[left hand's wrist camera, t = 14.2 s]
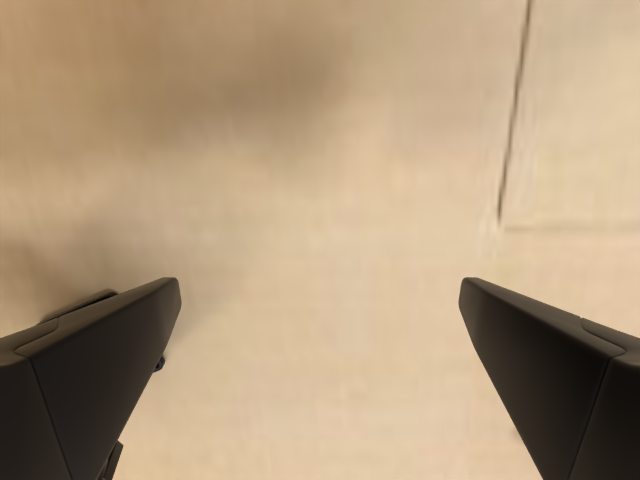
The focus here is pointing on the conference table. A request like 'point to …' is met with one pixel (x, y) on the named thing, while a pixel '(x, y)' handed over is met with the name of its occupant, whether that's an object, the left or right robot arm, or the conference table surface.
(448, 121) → the conference table surface
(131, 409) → the left robot arm
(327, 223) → the conference table surface
